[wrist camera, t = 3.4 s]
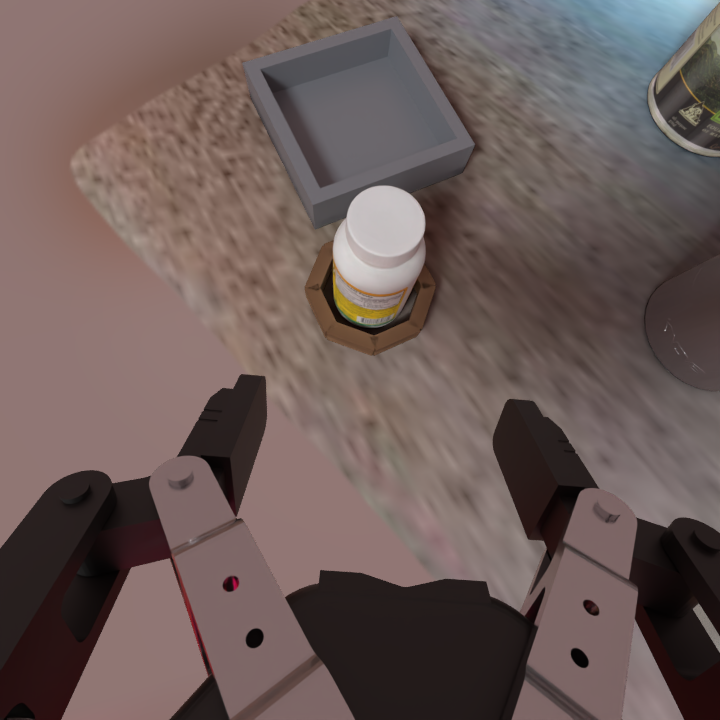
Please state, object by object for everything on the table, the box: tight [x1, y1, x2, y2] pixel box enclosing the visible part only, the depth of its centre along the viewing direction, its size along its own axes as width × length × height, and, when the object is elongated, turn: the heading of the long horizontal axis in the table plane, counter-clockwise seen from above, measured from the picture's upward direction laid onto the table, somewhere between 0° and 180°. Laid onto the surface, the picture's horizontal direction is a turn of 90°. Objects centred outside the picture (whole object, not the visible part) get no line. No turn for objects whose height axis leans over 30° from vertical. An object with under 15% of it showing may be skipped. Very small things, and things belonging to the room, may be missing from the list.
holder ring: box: [305, 240, 436, 356], centre depth 28 cm, size 9×9×2 cm
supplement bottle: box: [333, 186, 426, 328], centre depth 24 cm, size 5×5×10 cm
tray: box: [242, 16, 475, 229], centre depth 30 cm, size 13×13×3 cm
